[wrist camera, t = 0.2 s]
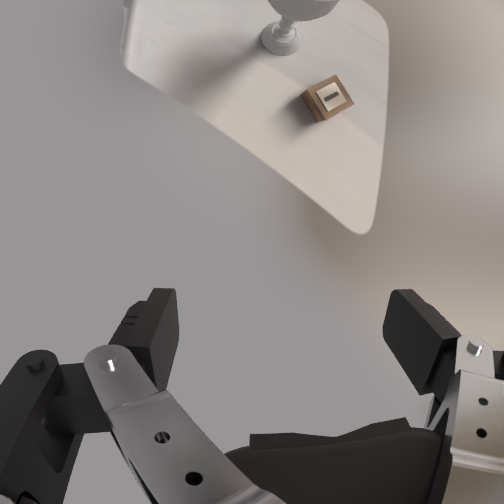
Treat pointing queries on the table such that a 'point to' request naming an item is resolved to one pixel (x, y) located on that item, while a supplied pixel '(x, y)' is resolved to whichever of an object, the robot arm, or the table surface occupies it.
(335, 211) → the table surface
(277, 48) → the chalice
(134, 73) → the table surface
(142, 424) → the robot arm
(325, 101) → the walnut cube
